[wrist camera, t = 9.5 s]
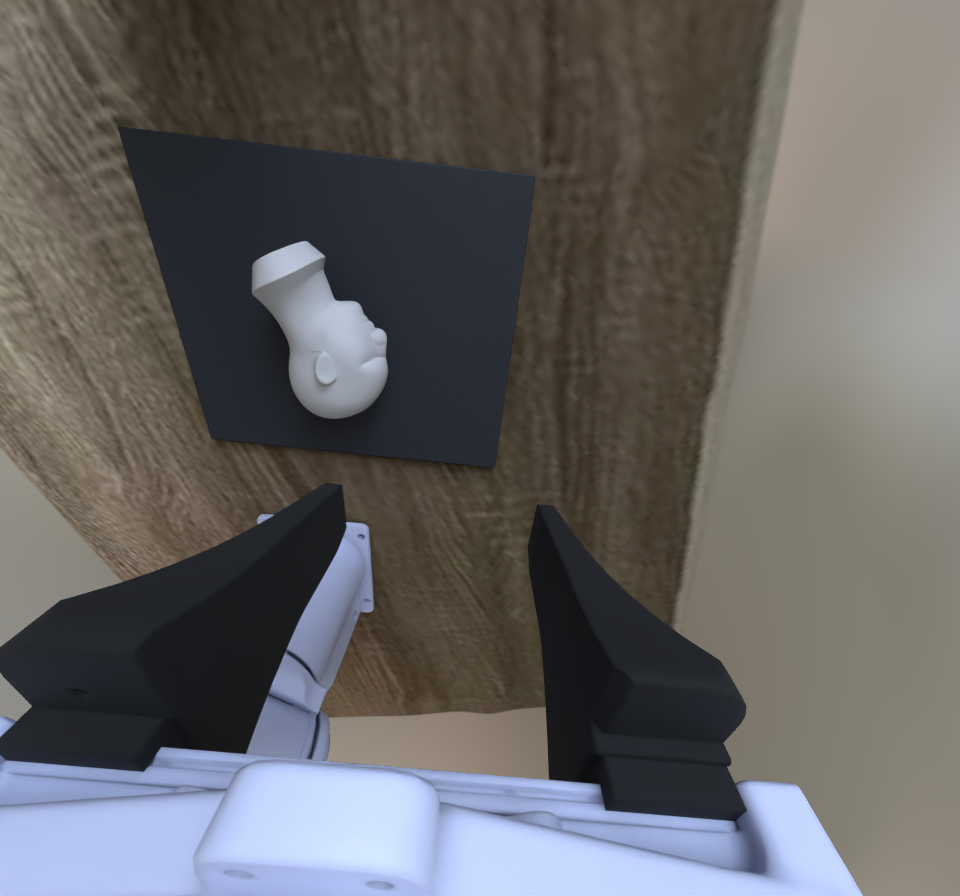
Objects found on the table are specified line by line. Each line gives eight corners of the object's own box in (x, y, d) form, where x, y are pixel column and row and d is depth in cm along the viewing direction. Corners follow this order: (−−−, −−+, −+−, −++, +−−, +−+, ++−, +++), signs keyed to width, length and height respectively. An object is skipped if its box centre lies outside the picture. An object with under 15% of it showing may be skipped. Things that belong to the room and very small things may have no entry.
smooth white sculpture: (401, 390, 21) (314, 410, 20) (359, 238, 17) (250, 254, 16) (408, 415, 17) (302, 441, 16) (357, 227, 13) (214, 248, 12)
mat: (494, 463, 22) (494, 468, 22) (217, 435, 22) (211, 439, 22) (534, 178, 15) (535, 175, 15) (129, 130, 15) (116, 125, 15)
